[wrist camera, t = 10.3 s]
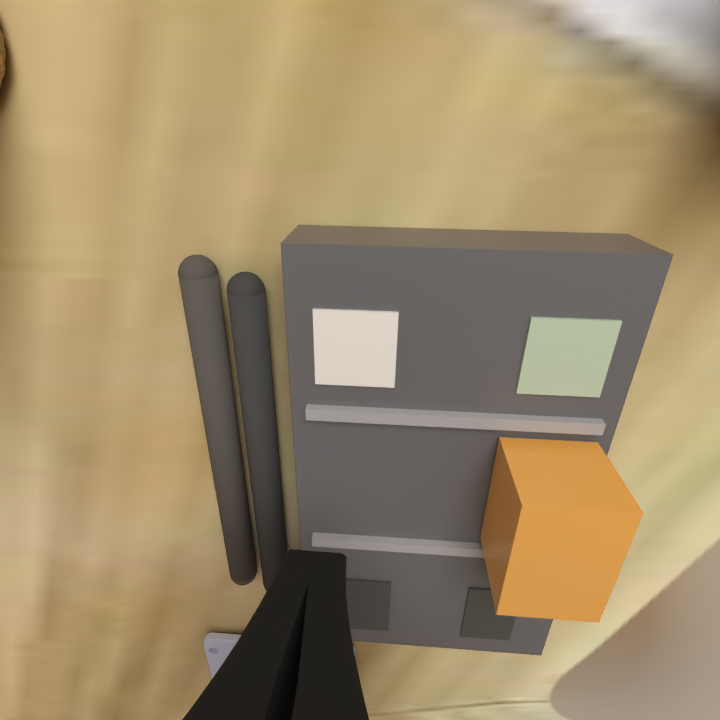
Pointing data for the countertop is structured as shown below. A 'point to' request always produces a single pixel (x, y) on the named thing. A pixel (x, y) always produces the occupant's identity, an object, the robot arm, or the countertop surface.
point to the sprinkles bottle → (2, 57)
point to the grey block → (446, 400)
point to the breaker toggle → (555, 529)
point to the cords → (222, 419)
